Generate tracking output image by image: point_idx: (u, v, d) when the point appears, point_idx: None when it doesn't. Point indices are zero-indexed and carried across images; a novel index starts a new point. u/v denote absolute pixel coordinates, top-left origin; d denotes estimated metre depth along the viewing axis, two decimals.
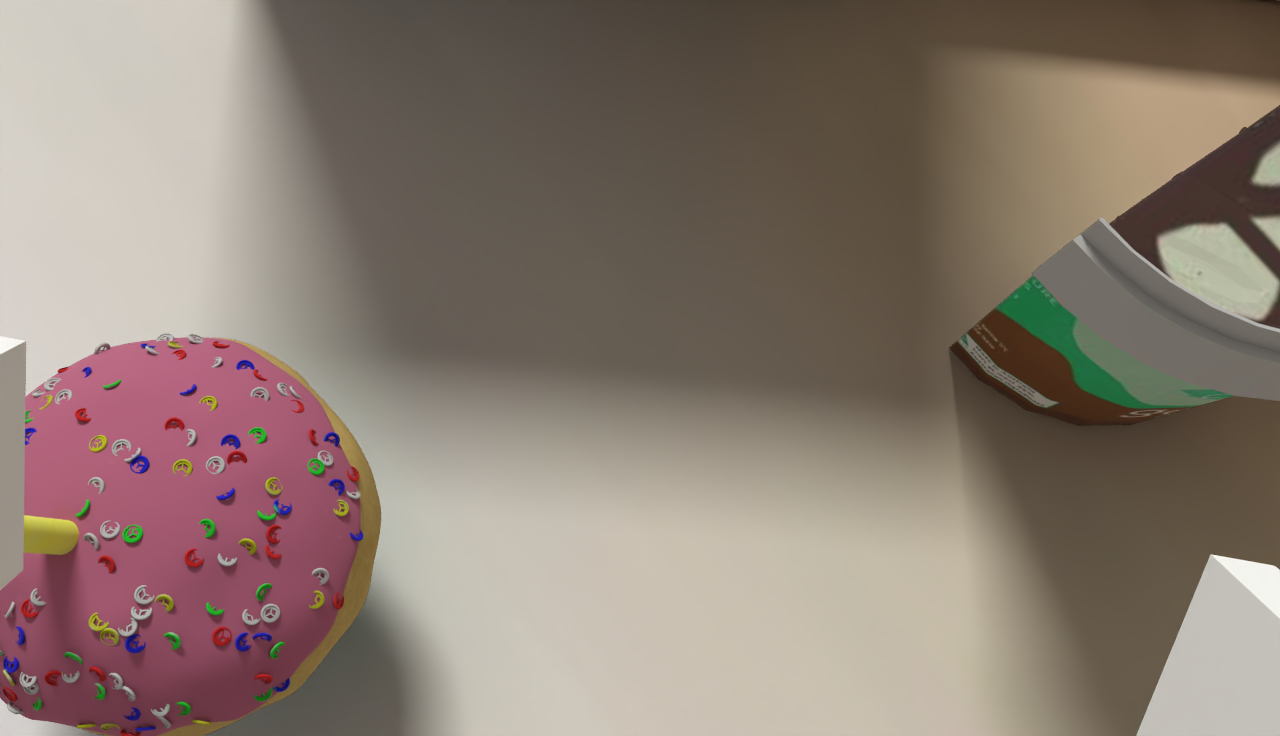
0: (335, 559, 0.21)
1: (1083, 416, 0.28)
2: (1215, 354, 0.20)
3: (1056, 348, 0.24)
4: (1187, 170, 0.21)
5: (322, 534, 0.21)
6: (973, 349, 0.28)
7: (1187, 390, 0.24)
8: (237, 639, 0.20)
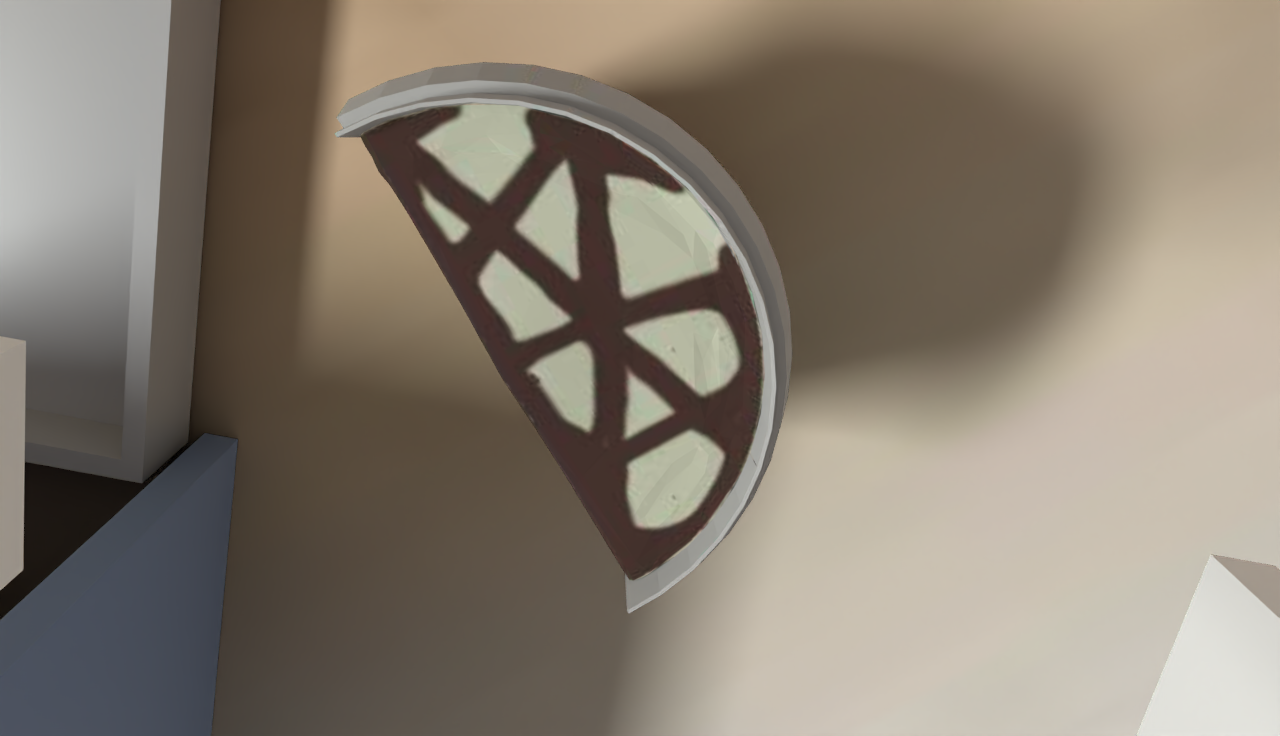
0: None
1: None
2: None
3: None
4: (570, 482, 0.22)
5: None
6: None
7: None
8: None
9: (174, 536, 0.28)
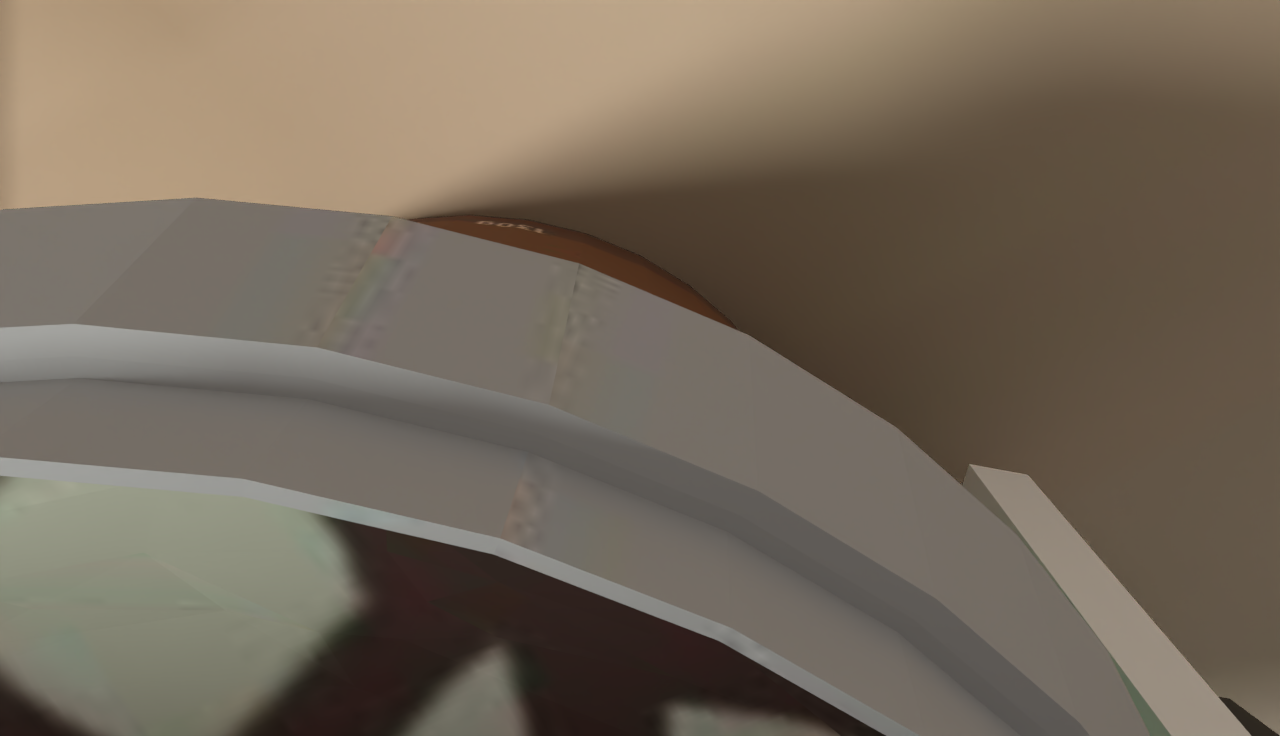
0: None
1: None
2: None
3: None
4: None
5: None
6: None
7: None
8: None
9: None
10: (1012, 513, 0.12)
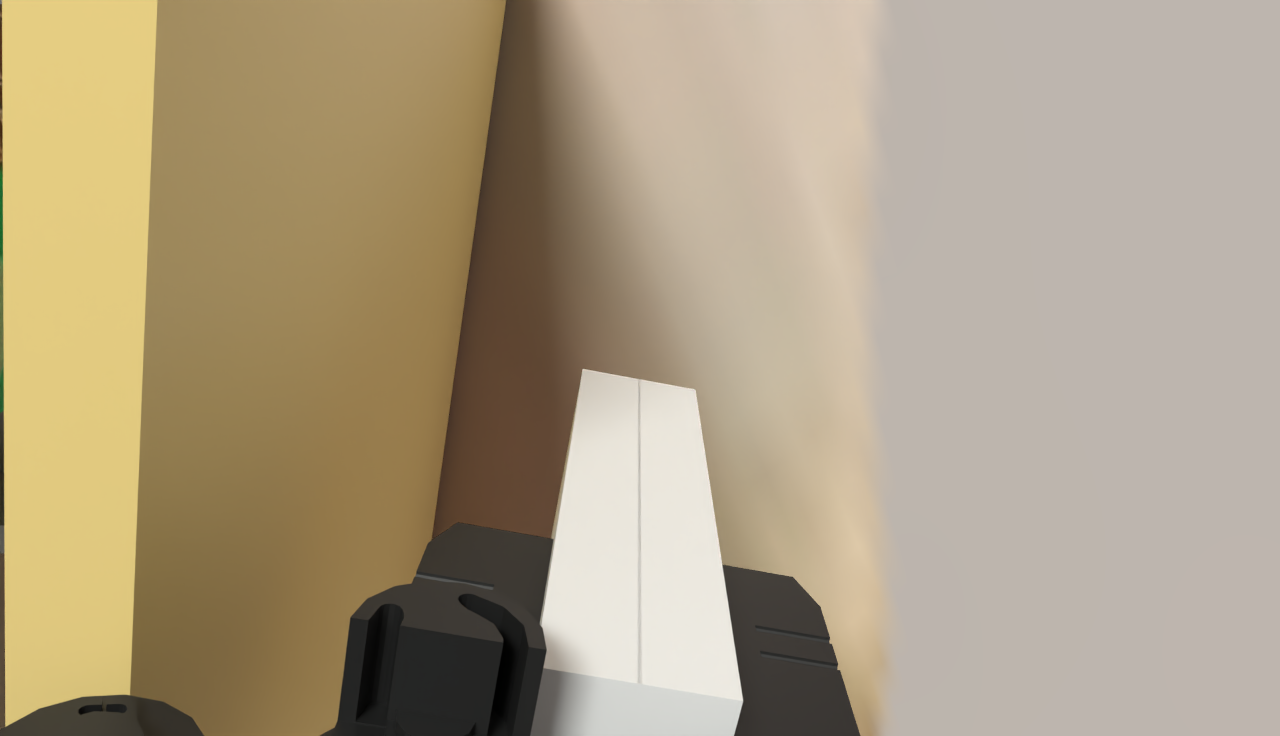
0: None
1: None
2: None
3: None
4: None
5: None
6: None
7: None
8: None
9: None
10: (646, 417, 0.12)
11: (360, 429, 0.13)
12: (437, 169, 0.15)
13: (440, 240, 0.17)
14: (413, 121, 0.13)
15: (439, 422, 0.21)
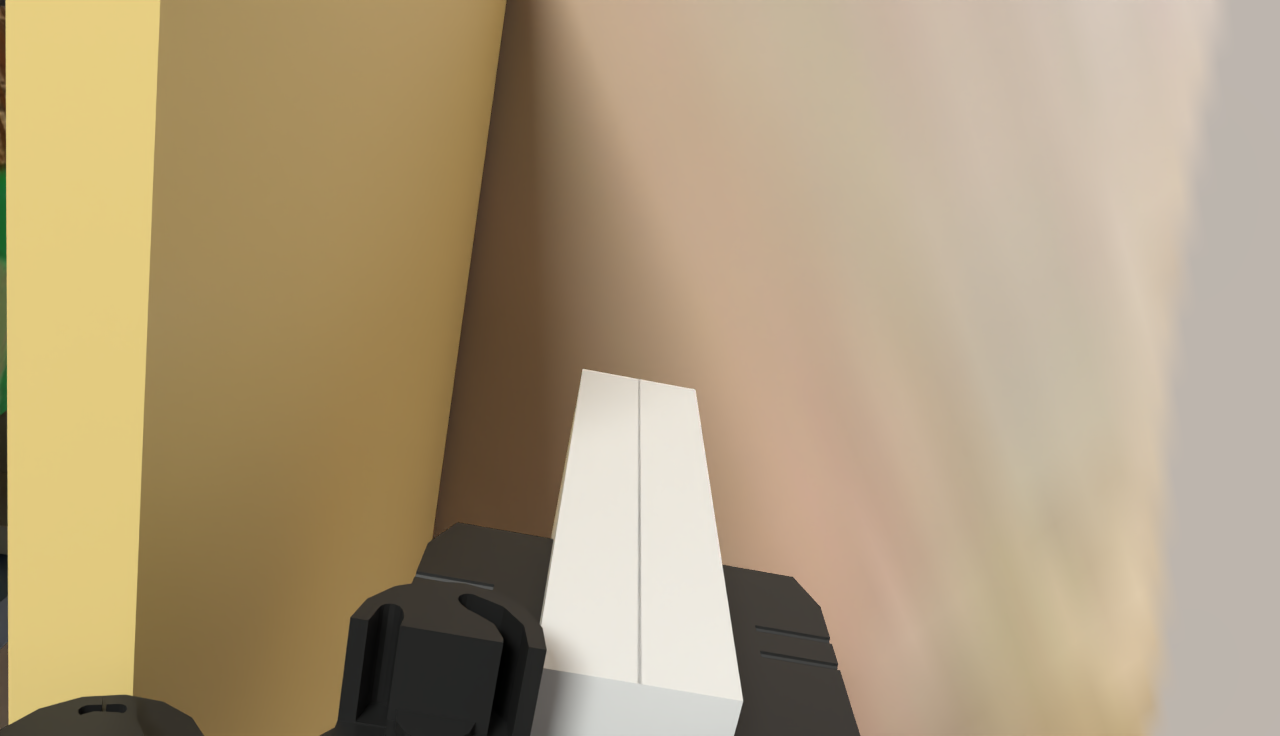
0: None
1: None
2: None
3: None
4: None
5: None
6: None
7: None
8: None
9: None
10: (646, 417, 0.12)
11: (361, 430, 0.13)
12: (437, 171, 0.15)
13: (440, 241, 0.17)
14: (413, 123, 0.13)
15: (439, 423, 0.21)
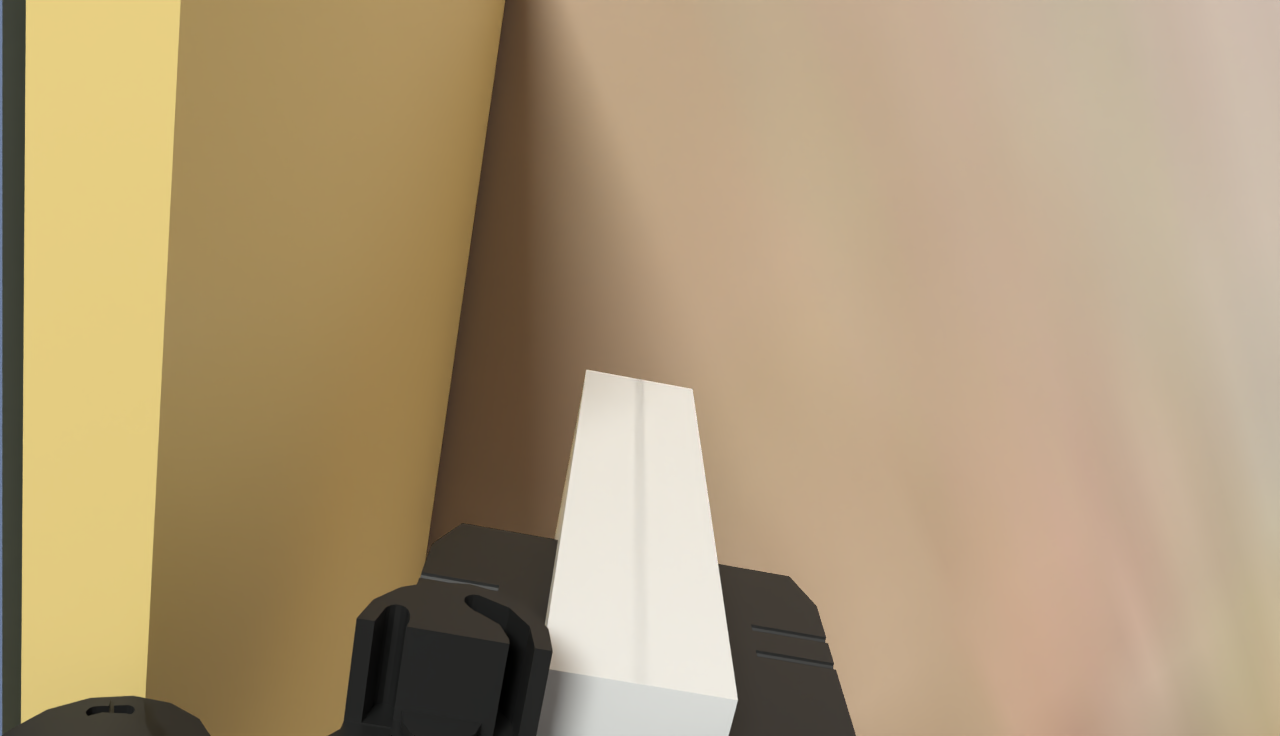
0: None
1: None
2: None
3: None
4: None
5: None
6: None
7: None
8: None
9: None
10: (643, 416, 0.12)
11: (362, 431, 0.13)
12: (438, 172, 0.15)
13: (440, 242, 0.17)
14: (416, 125, 0.13)
15: (437, 423, 0.21)
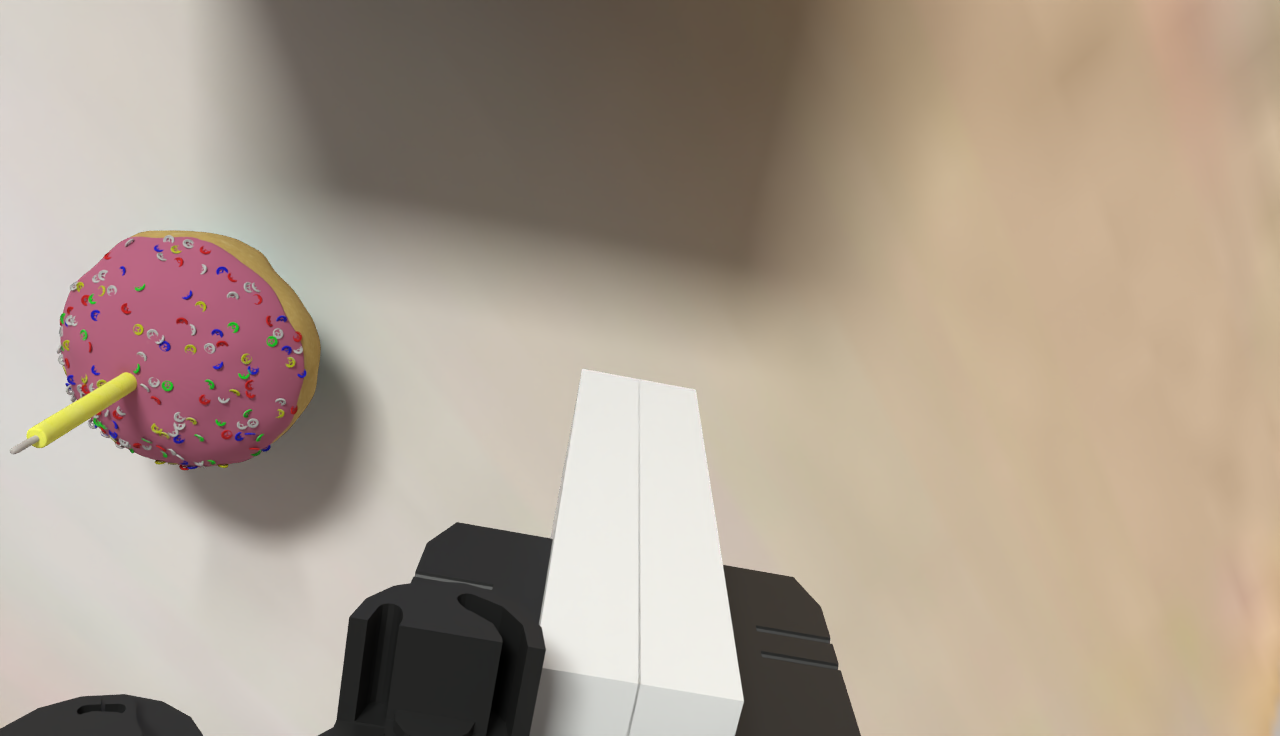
0: (290, 388, 0.36)
1: None
2: None
3: None
4: None
5: (279, 380, 0.35)
6: None
7: None
8: (236, 435, 0.36)
9: None
10: (646, 417, 0.12)
11: None
12: None
13: None
14: None
15: None
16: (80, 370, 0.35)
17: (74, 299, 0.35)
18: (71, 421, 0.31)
